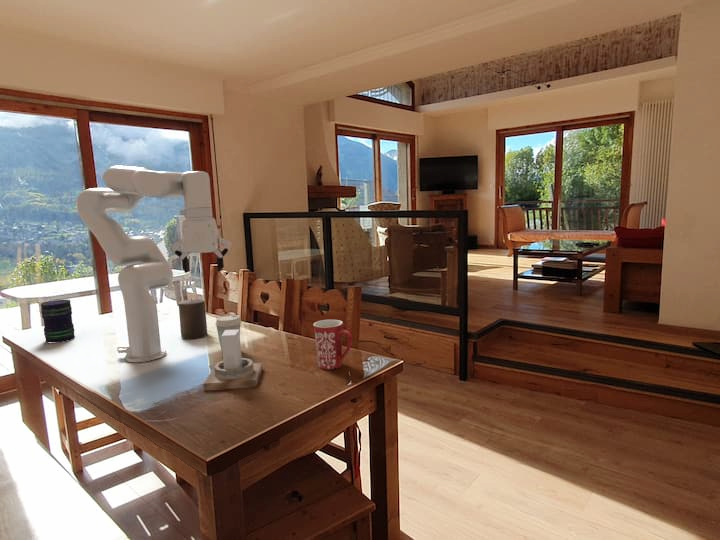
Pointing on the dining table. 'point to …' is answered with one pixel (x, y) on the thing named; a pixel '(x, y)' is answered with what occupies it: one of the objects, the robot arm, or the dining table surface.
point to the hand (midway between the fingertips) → (203, 271)
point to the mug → (330, 343)
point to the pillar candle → (193, 318)
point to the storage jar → (57, 320)
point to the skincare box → (231, 349)
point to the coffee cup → (227, 325)
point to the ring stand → (234, 376)
